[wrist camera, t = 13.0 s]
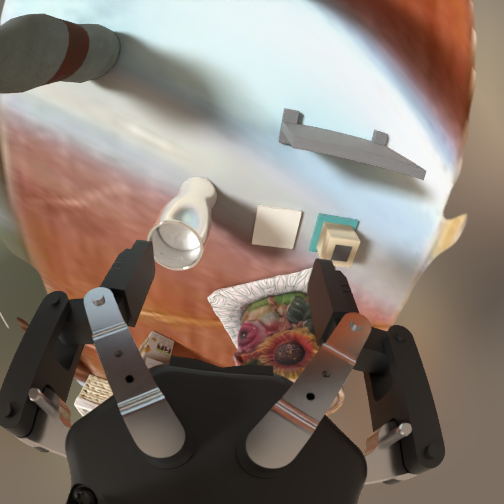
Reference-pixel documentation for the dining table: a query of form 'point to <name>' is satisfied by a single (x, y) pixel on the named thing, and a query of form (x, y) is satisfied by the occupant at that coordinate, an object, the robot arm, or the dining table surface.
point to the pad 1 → (276, 226)
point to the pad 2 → (333, 220)
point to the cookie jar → (271, 324)
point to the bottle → (53, 52)
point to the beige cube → (338, 244)
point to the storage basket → (92, 394)
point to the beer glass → (184, 225)
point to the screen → (345, 145)
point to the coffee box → (156, 349)
